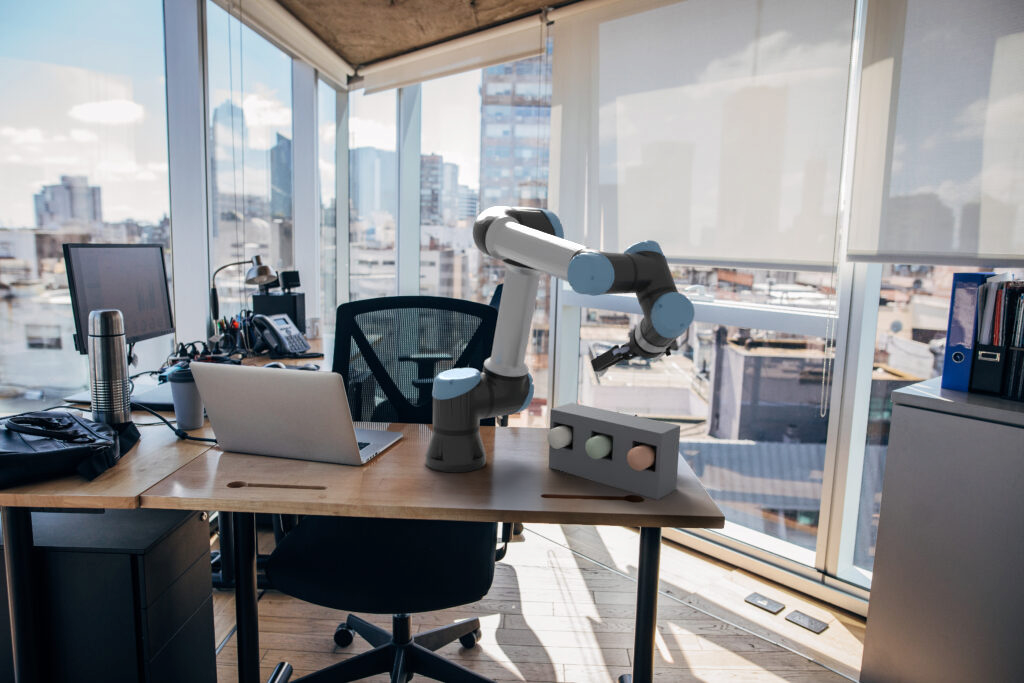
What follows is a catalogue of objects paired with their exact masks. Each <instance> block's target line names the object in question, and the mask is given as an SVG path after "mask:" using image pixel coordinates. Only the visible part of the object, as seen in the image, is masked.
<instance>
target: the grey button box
mask: <svg viewBox="0 0 1024 683" xmlns="http://www.w3.org/2000/svg"><path fill="white" fill-rule="evenodd" d="M608 410H609V409H604V408H603V409H602V408H599V407H593V406H588V405H584V404H580V403H574V402H570V403H567V404H563V405H560V406H556V407H553V408H550V413H549V414H550V415H549V418H550V420H549V431H550V430H551V429H553V428H556V427H559V426H562V425H567V426H569V427H570V428H571V429H572V431H573V442H572V443H571V444H570V445H567V446H565V447H562V448H559V449H555V448H553V447H552V446H551V445H550V444H549V443H548V445H549V447H548V448H549V449H548V451H549V452H548V468H549V467H550V468H549V469H552V468H553V469H552V470H555V469H557V470H556V471H558V470H560V471H559V472H562V471H564V472H563V473H565V472H567V473H566V474H569V473H570V474H569V475H572V474H574V475H573V476H575V475H577V476H576V477H579V476H580V477H579V478H582V477H583V479H585V480H586V479H587V480H589V481H593V482H596V483H600V484H603V485H606V486H610V487H613V488H618V489H620V490H624V491H627V492H631V493H634V494H636V495H637V494H638V495H641V496H644V497H647V498H651V499H655V500H657V501H658V500H660V499H662V498H663V497H665V496H667V495H668V494H670V493H672V492H674V491H675V490H677V486H678V485H677V483H678V469H679V455H680V454H679V452H680V440H681V439H680V436H681V425H679V424H675V423H671V422H666V421H660V420H656V419H650V418H646V417H641V416H638V415H637V416H632V415H627V414H623V413H620V412H619V411H617V412H613V411H614V410H610V411H608ZM618 412H619V413H618ZM600 434H605V435H607V436H608V437H610V439H611V440H612V443H613V450H612V452H611V453H610V454H609V455H607V456H604V457H602V458H600V459H593V458H591V457H590V456H589V455H588V454H587V452H586V448H585V445H586V442H587V440H588V439H590V438H592V437H595V436H598V435H600ZM642 444H647V445H649V446H651V447H652V448H653V449H654V451H655V453H656V461H655V463H654V464H653V465H651V466H649V467H648V468H646V469H644V470H641V471H637V470H634V469H633V468H632V467H631V466H630V465H629V463H628V461H627V455H628V452H629V451H630V450H631V449H633V448H635V447H637V446H640V445H642Z"/></svg>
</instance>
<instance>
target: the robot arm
mask: <svg viewBox="0 0 1024 683" xmlns="http://www.w3.org/2000/svg"><path fill="white" fill-rule="evenodd" d="M564 233H565V232H564V228H563V225H562V223H561V221H560V219H559V216H557V214H555V213H554V212H553V211H552V210H549V209H544V208H539V207H531V206H530V207H529V206H527V207H526V206H525V207H524V206H507V205H498V206H491V207H489V208H487V209H485V210H484V211H482V212H481V213H480V214H479V215H478V216H477V218H476V219H475V222H474V223H473V227H472V238H473V241H474V244H475V246H476V247H477V249H479V251H480V252H482V253H483V254H484V255H486V256H489V257H492V258H493V259H496V260H501V262H502V264H503V265H504V266H505V273H504V279H503V283H502V284H503V285H502V291H501V297H500V301H499V306H498V314H497V320H496V324H495V325H496V326H495V331H494V337H493V343H492V350H491V355H490V357H488V358H486V359H485V360H484V362H483V368H482V371H479V370H478V369H476V368H473V367H461V368H460V367H456V368H451V369H448V370H444V371H442V372H439V373H438V374H436V376H435V378H434V379H433V385H432V392H431V395H432V435H431V437H430V440H429V443H428V446H427V448H426V453H425V465H426V466H427V467H428V468H430V469H432V470H435V471H437V472H444V473H466V472H472V471H476V470H480V469H481V468H483V467H484V466H485V465H486V462H487V455H486V450H485V447H484V443H483V440H482V437H481V434H480V420H483V419H488V418H495V417H500V416H511V415H514V414H516V413H517V414H518V413H520V412H521V413H522V412H523V411H525V410H526V409H527V408H528V407H529V406H530V404H531V402H532V401H533V397H534V394H535V385H534V384H533V382H534V380H533V377H532V375H531V373H530V372H529V368H528V366H527V364H526V363H525V360H526V359H525V358H526V353H527V348H528V344H529V338H530V332H531V327H532V323H533V316H534V312H535V306H536V303H537V302H536V300H537V297H538V296H537V295H538V291H539V284H540V279H541V275H542V273H544V274H547V275H549V276H552V277H554V278H556V279H558V280H562V281H565V282H566V283H568V284H569V286H570V287H571V288H572V289H573V292H575V293H577V294H580V295H587V296H588V295H589V296H594V297H595V296H600V295H620V294H621V295H622V294H635V295H636V298H637V301H638V303H639V306H640V308H641V311H642V314H643V316H644V317H643V318H642V319H641V320H640V321H639V323H637V325H636V326H635V327H634V329H633V330H632V331H631V334H630V337H629V341H628V342H626V343H625V344H622V345H620V346H619V344H615V345H614V346H612V347H611V348H609V350H608V349H607V350H606V351H605V352H604V353H602V354H600V355H597V356H596V357H595V358H593V359H591V360H590V363H591V366H592V369H593V372H596V373H597V374H598V377H599V378H602V377H603V376H604V375H606V373H607V372H608V371H609V368H611V367H612V366H614V365H617V364H619V363H621V362H624V361H630V360H633V359H635V358H644V359H651V360H652V364H655V363H657V362H658V361H659V360H661V359H662V357H664V356H666V357H670V356H672V353H671V350H672V351H677V350H678V349H679V347H678V344H677V339H678V338H680V337H681V336H682V335H683V334H685V333H686V332H687V330H688V329H689V328H690V326H691V324H692V323H693V321H694V319H695V314H696V313H695V307H694V304H693V302H692V300H690V299H689V298H688V297H687V296H686V295H685V294H683V293H681V292H679V290H678V288H677V286H676V284H675V281H674V278H673V275H672V272H671V270H670V267H669V265H668V260H667V258H666V256H665V255H664V252H663V251H662V248H661V246H660V244H659V243H658V242H657V241H655V240H652V239H649V240H648V239H646V240H644V241H639V242H636V243H634V244H632V245H630V246H629V247H627V248H626V249H625V250H624V251H623V252H621V253H620V252H619V253H618V252H617V253H616V252H614V253H613V252H604V251H600V250H597V249H595V248H591V247H589V246H586V245H583V244H580V243H577V242H573V241H571V240H567V239H565V234H564Z"/></svg>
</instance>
